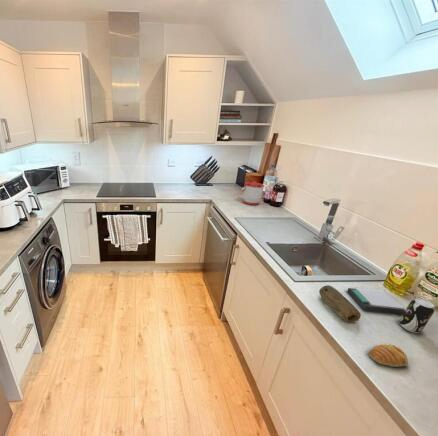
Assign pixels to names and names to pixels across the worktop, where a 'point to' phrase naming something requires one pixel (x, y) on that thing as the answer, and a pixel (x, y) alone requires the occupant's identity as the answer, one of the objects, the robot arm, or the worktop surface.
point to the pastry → (389, 355)
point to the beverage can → (417, 315)
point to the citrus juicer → (252, 192)
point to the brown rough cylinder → (339, 304)
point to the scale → (375, 301)
